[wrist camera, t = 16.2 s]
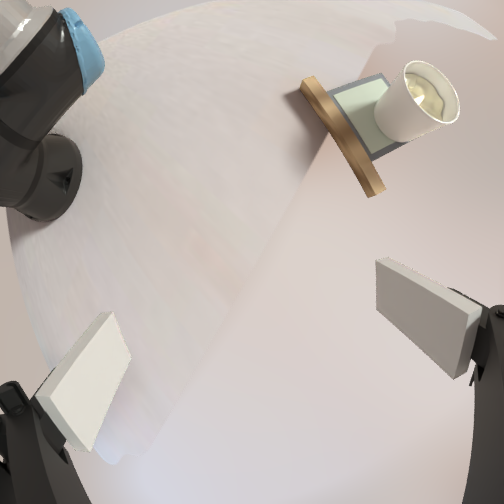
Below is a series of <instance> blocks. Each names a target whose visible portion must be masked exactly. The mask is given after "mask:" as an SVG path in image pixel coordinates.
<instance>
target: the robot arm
mask: <svg viewBox="0 0 504 504" xmlns="http://www.w3.org/2000/svg"><path fill="white" fill-rule="evenodd" d="M104 67H105V61H104V57H103V55H102V52H101V50H100V48H99V46H98V44H97V42H96V41H95V39H94V37H93V36H92V34H91V32H90V31H89V29H88V28H87V27H86V25H84V24H83V22H82V21H81V19H80V17H79V16H78V15H77V13H76V12H75V11H73V10H72V9H70V8H65V9H63V10H60V11H59V12H58V13H57V12H56V10H55V9H54V8H53V7H52V6H44V7H37V8H36V7H32V6H31V5H30V4H29V3H28V2H27V1H26V0H0V206H2V207H12V208H15V209H16V210H18V211H19V212H21V213H23V214H24V215H25V216H27V217H28V218H30V219H32V220H35V221H51V220H54V219H56V218H58V217H59V216H61V215H62V214H63V213H64V212H65V211H66V210H67V209H68V208H69V206H70V205H71V203H72V202H73V200H74V198H75V196H76V194H77V191H78V189H79V185H80V182H81V176H82V158H81V154H80V151H79V149H78V147H77V145H76V144H75V143H74V142H73V141H72V140H70V139H69V138H67V137H65V136H63V135H60V134H48V132H49V131H50V130H51V129H52V127H53V126H54V125H55V124H56V123H57V122H58V120H59V119H60V118H61V117H62V116H63V115H64V113H65V112H66V111H67V110H68V109H69V108H70V107H71V106H72V105H73V104H74V103H75V101H76V100H77V99H78V98H79V97H80V96H81V95H82V96H83V95H84V94H85V93H86V91H87V89H88V88H89V87H90V86H91V85H92V84H93V83H94V82H95V81H96V80H97V79H98V78H99V77H100V76H101V74H102V73H103V71H104ZM47 134H48V135H47ZM376 309H377V311H379V312H380V313H381V314H382V315H383V316H384V317H386V318H387V319H388V320H389V321H390V322H391V323H392V324H393V325H395V326H396V327H397V328H398V329H399V330H400V331H401V332H402V333H404V334H405V335H406V336H407V337H408V338H409V339H410V340H411V341H412V342H413V343H414V344H415V345H417V346H418V347H419V348H420V349H421V350H422V351H423V352H424V353H425V354H426V355H428V356H429V357H430V358H431V359H432V360H433V361H434V362H435V363H436V364H437V365H438V366H439V367H440V368H442V370H443V371H445V372H446V373H447V374H448V375H449V376H450V377H451V378H452V379H453V380H454V379H455V378H457V377H459V376H461V375H462V374H464V373H465V372H467V370H468V366H469V363H470V360H471V359H472V360H474V361H475V362H476V365H475V368H474V371H473V375H472V378H471V381H470V384H469V386H472V383H473V381H474V383H475V409H474V411H475V412H474V430H473V442H472V451H471V459H470V466H469V473H468V478H467V484H466V489H465V493H464V497H463V502H462V504H504V305H495V306H493V307H491V308H490V309H489V308H488V307H486V306H484V305H482V304H480V303H479V302H477V301H475V300H473V299H471V298H469V297H468V296H466V295H463V294H462V293H461V292H459V291H457V290H455V289H451V288H448V287H445V286H443V285H441V284H439V283H438V282H436V281H434V280H432V279H430V278H428V277H426V276H424V275H422V274H420V273H418V272H417V271H414V270H413V269H411V268H409V267H407V266H405V265H403V264H401V263H399V262H397V261H395V260H393V259H391V258H389V257H387V258H383V259H379V260H376ZM131 358H132V357H131V355H130V353H129V350H128V348H127V345H126V343H125V341H124V338H123V336H122V333H121V331H120V328H119V325H118V323H117V320H116V317H115V315H114V312H106V313H101V314H100V315H99V316H98V317H97V318H96V319H95V321H94V322H93V323H92V324H91V325H90V326H89V328H88V329H87V330H86V331H85V332H84V333H83V335H82V336H81V337H80V338H79V339H78V341H77V342H76V343H75V344H74V345H73V347H72V348H71V349H70V350H69V352H68V353H67V354H66V355H65V357H64V358H63V359H62V360H61V362H60V363H59V364H58V365H57V367H55V368H54V369H53V370H52V371H51V373H50V374H49V375H48V378H46V379H45V381H44V383H42V385H41V386H40V387H39V388H38V390H37V391H36V392H35V394H34V395H33V397H32V398H31V399H30V400H29V399H28V397H27V396H26V394H25V392H24V391H23V389H22V388H21V386H20V384H19V383H18V382H17V381H10V382H6V383H4V384H3V385H1V386H0V408H1V409H2V411H3V412H4V413H5V414H1V415H0V455H1V456H2V457H3V458H4V459H3V463H2V462H1V461H0V504H92V503H91V502H90V500H89V498H88V496H87V494H86V492H85V490H84V488H83V485H82V484H81V481H80V479H79V477H78V475H77V472H76V470H75V468H74V465H73V463H72V460H71V458H70V456H69V453H68V451H67V450H66V449H65V447H64V444H65V442H66V440H67V441H68V443H69V444H70V445H71V446H72V447H73V448H74V450H77V451H83V452H91V449H92V447H93V444H94V442H95V439H96V437H97V434H98V432H99V430H100V427H101V425H102V422H103V420H104V418H105V415H106V413H107V411H108V408H109V406H110V404H111V402H112V399H113V397H114V395H115V393H116V390H117V388H118V386H119V384H120V382H121V379H122V377H123V375H124V373H125V371H126V369H127V367H128V364H129V362H130V360H131Z"/></svg>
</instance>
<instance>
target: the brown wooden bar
mask: <svg viewBox="0 0 504 504" xmlns="http://www.w3.org/2000/svg"><path fill="white" fill-rule="evenodd" d="M299 89H300V90H301V92H302V93H303V94H304V96H305V97H306V99H307V100H308V101H309V103H310V104H311V106H312V107H313V109H314V110H315V111H316V113H317V114H318V116H319V117H320V119H321V120H322V122H323V123H324V125H325V126H326V128H327V129H328V131H329V132H330V134H331V136H332V137H333V139H334V140H335V142H336V143H337V145H338V147H339V148H340V150H341V152H342V153H343V155H344V157H345V158H346V160H347V161H348V163H349V165H350V167H351V168H352V170H353V172H354V174H355V175H356V177H357V179H358V181H359V183H360V184H361V186H362V188H363V190H364V192H365V194H366V195H367V197H368V198H369V197H372V196H375V195H377V194H379V193H381V192H382V191H384V190H386V188H385V186H384V184H383V182H382V180H381V178H380V177H379V175H378V173H377V171H376V170H375V167H374V166H373V164H372V162H371V160H370V159H369V157H368V155H367V153H366V152H365V150H364V148H363V147H362V145H361V143H360V142H359V140H358V139H357V137H356V135H355V134H354V132H353V131H352V129H351V127H350V126H349V124H348V123H347V121H346V120H345V118H344V117H343V115H342V114H341V112H340V111H339V109H338V108H337V107H336V105H335V104H334V102H333V101H332V99H331V98H330V97H329V95H328V94H327V93H326V91H325V90H324V88H323V87H322V86H321V84H320V83H319V82H318V81H317V79H316V78H315V77H314V76H311V77H308V78H305V79H303V80H302V83H301V86H300V88H299Z"/></svg>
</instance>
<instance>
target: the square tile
mask: <svg viewBox="0 0 504 504" xmlns="http://www.w3.org/2000/svg"><path fill="white" fill-rule="evenodd" d="M389 86H390V84H389V82H388V81H387V80H386V78H385V77H384V75H383V74H382V73H379V74H376V75H373V76H370V77H367V78H364V79H361V80H358V81H355V82H352V83H349V84H346V85H343V86H341V87H338V88H335V89H333V90H330V91H327V92H326V93H327V94H328V95H329V97H330V98H331V99H332V101H333V102H334V104H335V105H336V107H337V108H338V109H339V111H340V112H341V114H342V115H343V117H344V118H345V120H346V121H347V123H348V124H349V126H350V127H351V129H352V131H353V132H354V134H355V135H356V137H357V139H358V140H359V142H360V143H361V145H362V147H363V148H364V150H365V152H366V153H367V155H368V157H369V159H370V160H371V162H372V161H374V160H375V159H378V158H379V157H381V156H383V155H385V154H387V153H389V152H391V151H393V150H394V149H397V148H399V147H400V146H402V145H404V144H406V143H408V142H410V141H408V142H396V141H393V140H391V139H390V138H388V137H387V136H386V135H384V134H383V133H382V131H381V130H380V129H379V127H378V126H377V124H376V121H375V118H374V107H375V104H376V103H377V101H378V100H379V98H380V97H381V96H382V95H383V93H384V92H385V91H386V90H387V88H388V87H389ZM415 139H416V138H415ZM413 140H414V139H413ZM411 141H412V140H411Z"/></svg>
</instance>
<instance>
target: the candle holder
mask: <svg viewBox="0 0 504 504" xmlns="http://www.w3.org/2000/svg"><path fill="white" fill-rule="evenodd" d="M459 113H460V104H459V99H458V96H457V94H456V91H455V89H454V88H453V86H452V84H451V83H450V81H449V80H448V79H447V78H446V77H445V75H443V73H442V72H440V71H439V70H438V69H437V68H435V67H434V66H432V65H430V64H428V63H426V62H423V61H418V60H415V61H411V62H408V63H407V64H406V65H405V66H404V68H403V70H402V71H401V72H400V73H399V75H398V76H397V77H396V78H395V80H394V81H393V82H392V83H391V85H390V86H389V87H388V88H387V90H386V91H385V92H384V93H383V95H382V96H381V97H380V98H379V100H378V101H377V103H376V104H375V107H374V118H375V121H376V124H377V126H378V127H379V129H380V130H381V131H382V133H383V134H384V135H386V136H387V137H388V138H390V139H391V140H393V141H396V142H408V141H411V140H413V139H415V138H417V137H420V136H422V135H424V134H427V133H429V132H431V131H434V130H436V129H438V128H441V127H443V126H445V125H448V124H451V123H453V122H455V121H456V120H457V118H458V116H459Z"/></svg>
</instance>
